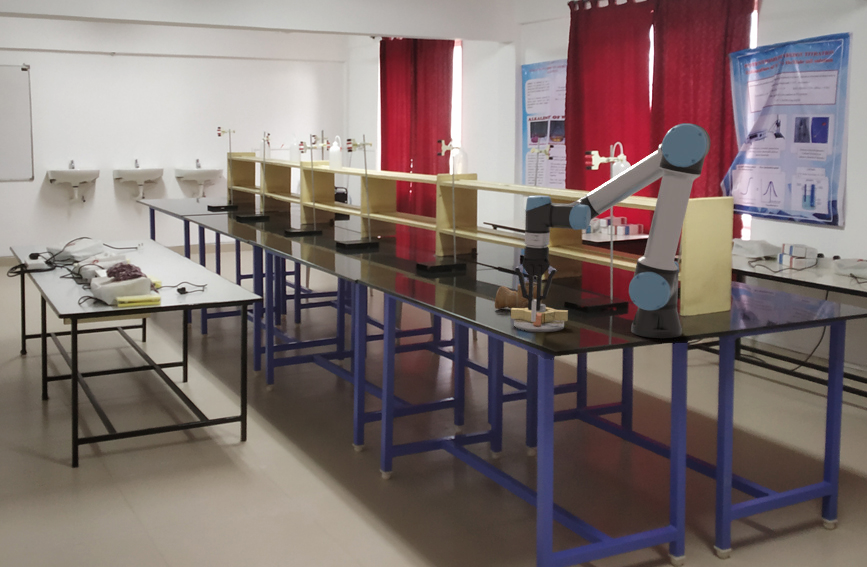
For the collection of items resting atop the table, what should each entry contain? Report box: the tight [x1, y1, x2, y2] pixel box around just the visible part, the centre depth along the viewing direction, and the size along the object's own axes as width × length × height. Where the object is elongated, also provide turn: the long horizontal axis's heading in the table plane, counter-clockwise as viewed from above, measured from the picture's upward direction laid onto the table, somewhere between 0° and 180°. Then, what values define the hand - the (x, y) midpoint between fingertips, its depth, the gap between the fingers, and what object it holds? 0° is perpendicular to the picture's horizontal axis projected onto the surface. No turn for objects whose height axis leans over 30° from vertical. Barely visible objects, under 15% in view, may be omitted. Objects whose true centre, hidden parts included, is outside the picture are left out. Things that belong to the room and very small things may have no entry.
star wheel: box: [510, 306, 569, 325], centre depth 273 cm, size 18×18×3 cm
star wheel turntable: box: [513, 303, 565, 333], centre depth 273 cm, size 16×16×7 cm
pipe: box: [494, 281, 544, 310], centre depth 296 cm, size 9×16×10 cm, turn 68°
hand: (533, 320), depth 266 cm, fingers closed
